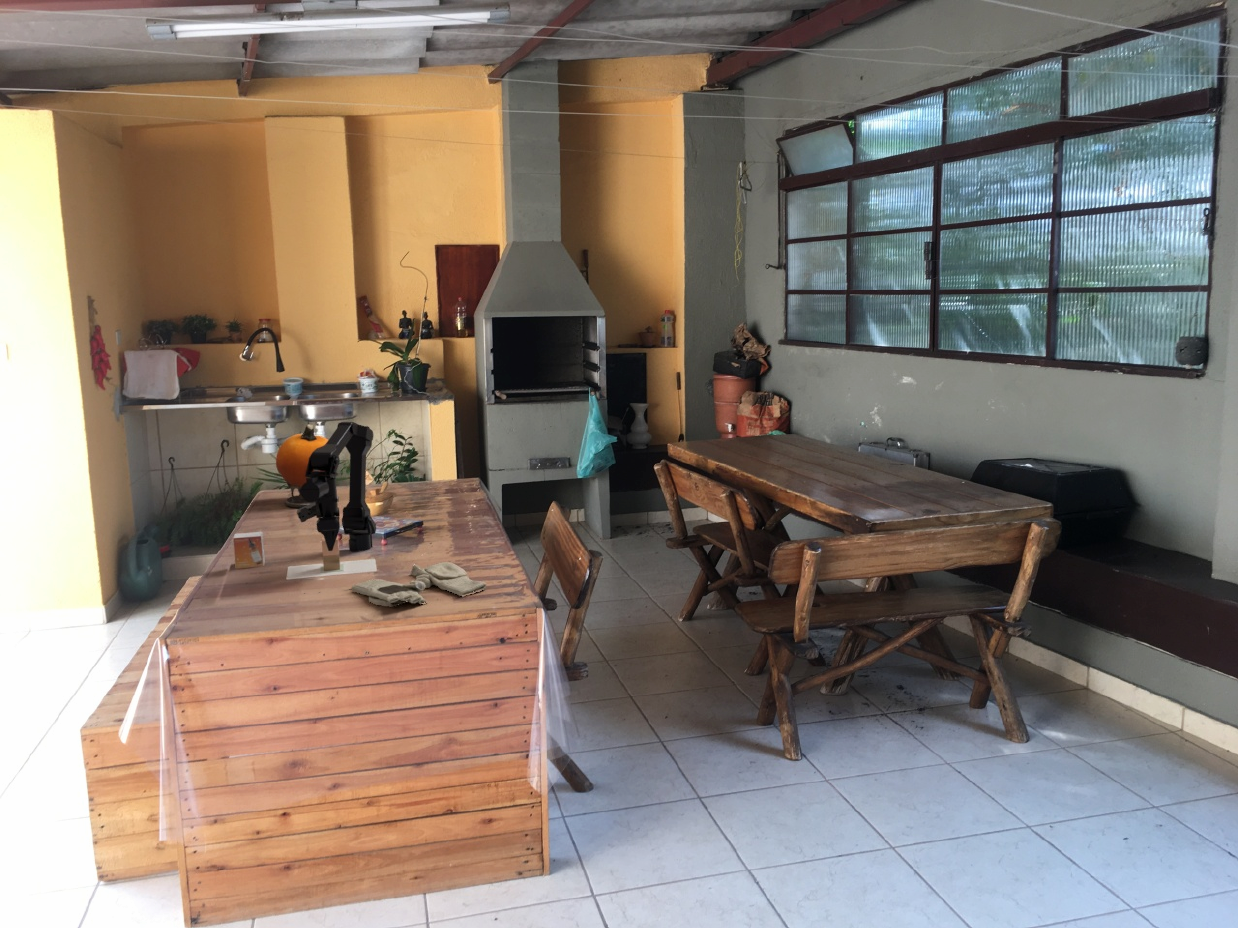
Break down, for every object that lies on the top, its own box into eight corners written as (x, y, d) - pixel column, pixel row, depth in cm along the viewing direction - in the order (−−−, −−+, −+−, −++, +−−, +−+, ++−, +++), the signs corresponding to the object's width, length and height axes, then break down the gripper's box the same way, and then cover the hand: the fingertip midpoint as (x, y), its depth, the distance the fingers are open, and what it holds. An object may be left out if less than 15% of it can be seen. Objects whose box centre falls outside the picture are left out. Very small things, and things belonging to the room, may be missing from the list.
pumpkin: (274, 500, 393) (268, 423, 388) (333, 493, 404) (328, 417, 398) (285, 512, 374) (278, 430, 368) (347, 504, 385) (341, 425, 379)
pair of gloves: (388, 616, 263) (387, 596, 262) (349, 592, 283) (348, 573, 282) (491, 592, 281) (490, 574, 280) (447, 571, 301) (447, 553, 300)
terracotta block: (323, 551, 300) (321, 536, 299) (339, 550, 301) (337, 535, 300) (322, 555, 296) (321, 540, 295) (339, 554, 297) (337, 539, 296)
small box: (235, 572, 302) (232, 538, 299) (237, 567, 307) (234, 533, 305) (264, 570, 304) (261, 535, 302) (265, 564, 309) (262, 530, 307)
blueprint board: (375, 562, 309) (375, 558, 309) (377, 575, 297) (376, 570, 296) (288, 570, 303) (288, 565, 302) (286, 583, 290) (286, 578, 290)
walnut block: (324, 566, 301) (323, 551, 300) (340, 565, 302) (338, 550, 301) (323, 570, 297) (322, 555, 296) (340, 569, 298) (338, 554, 297)
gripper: (298, 489, 302) (302, 540, 305) (296, 503, 284) (300, 557, 287) (337, 486, 305) (341, 537, 308) (337, 500, 287) (341, 554, 290)
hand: (330, 546), depth 298 cm, fingers open, 9 cm apart
